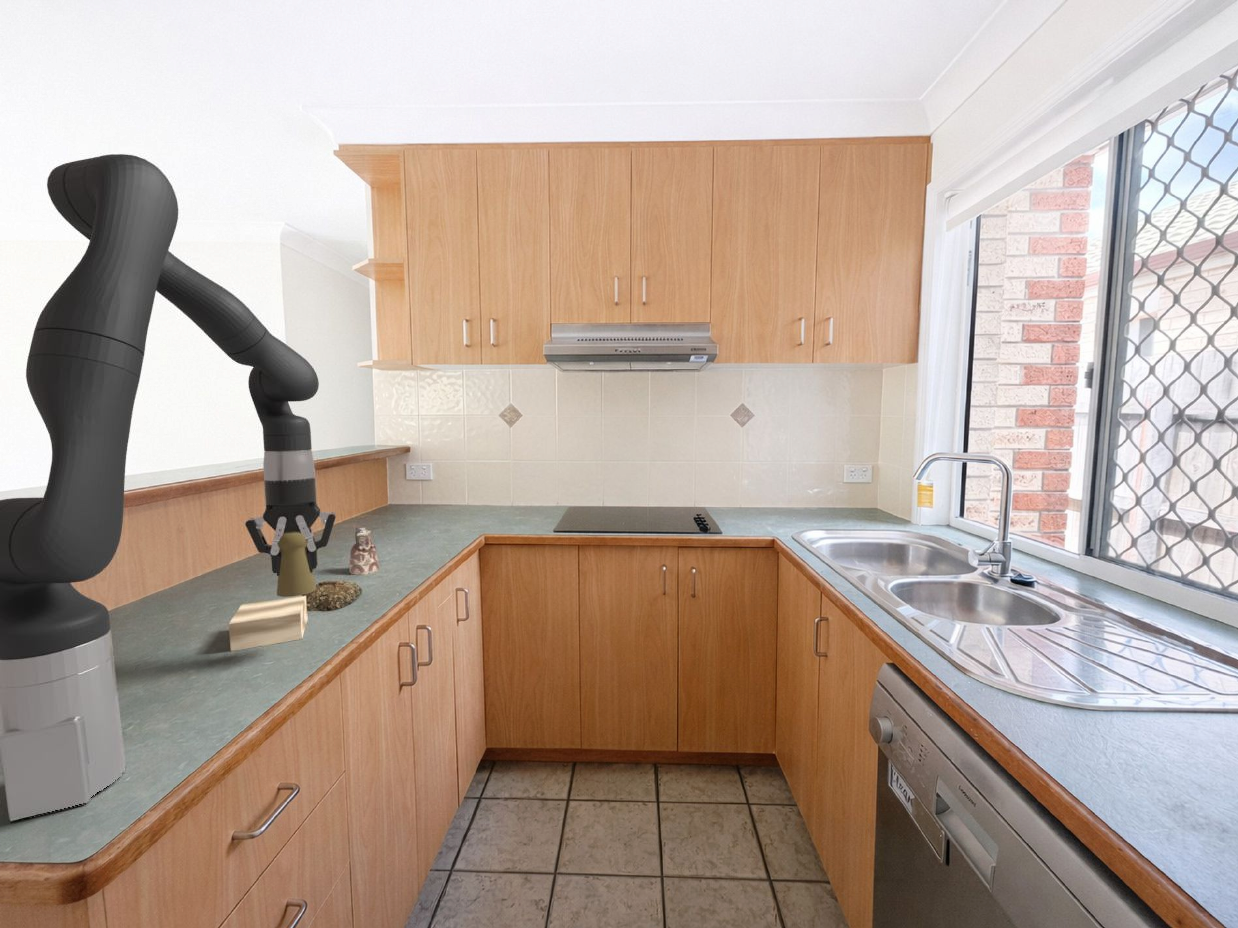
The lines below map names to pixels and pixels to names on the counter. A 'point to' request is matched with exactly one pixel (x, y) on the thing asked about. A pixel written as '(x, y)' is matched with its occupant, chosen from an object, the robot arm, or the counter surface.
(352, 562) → the figurine
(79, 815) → the counter surface
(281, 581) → the olive knobbed peg
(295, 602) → the ash block
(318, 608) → the bread roll
